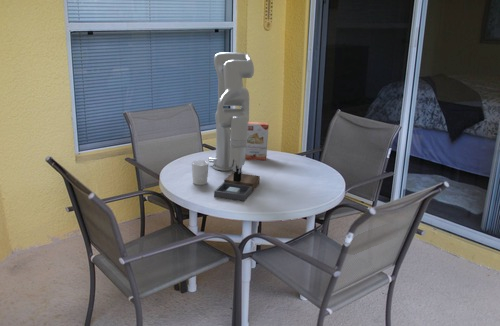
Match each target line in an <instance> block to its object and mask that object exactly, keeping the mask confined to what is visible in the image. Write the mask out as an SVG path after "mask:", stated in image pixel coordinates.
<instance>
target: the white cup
mask: <svg viewBox="0 0 500 326" xmlns="http://www.w3.org/2000/svg"><path fill="white" fill-rule="evenodd" d="M209 163H210V162H209V161H206V160H194V161H192V162H191V172H192V183H193V184H194V185H197V186H203V185H206V184H207V183H208V176H209Z"/></svg>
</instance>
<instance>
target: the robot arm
mask: <svg viewBox="0 0 500 326" xmlns="http://www.w3.org/2000/svg"><path fill="white" fill-rule="evenodd" d="M213 57H214V58H213V64H214V68H215V72H216V75H217V80H218V81H217V99H218V101H217V105H216V112H215V114H214V117H215V119H214V121H215V128H216V130H215V131H216V132H215V133H216V136H215V141H216V142H215V157H214V158H213V157H208V163H212V169H213V170H217V171H221V172H222V171H223V172H228V171H229V172H230V171H232V172H234V178H233V181H236V182H240V181H241V174H242V173H243V172H242V170H243V166H244V165H245V163H246V159H245V147H247V135H248V123H249V122H250V93H249V90H248V89H247V88H246V87H244V85H243V84H244V83H243V79H251V78H253V76H254V75H255V66H254V62H253V60H252V59H251V57H250V55H249V53H246V52H234V51H233V52H230V51H229V52H226V51H223V52H222V51H221V52H218V53H216V54H215V55H214V56H213ZM225 106H226V107H227V106H228V107H239V108H226V107H225ZM224 107H225V108H224Z"/></svg>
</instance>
